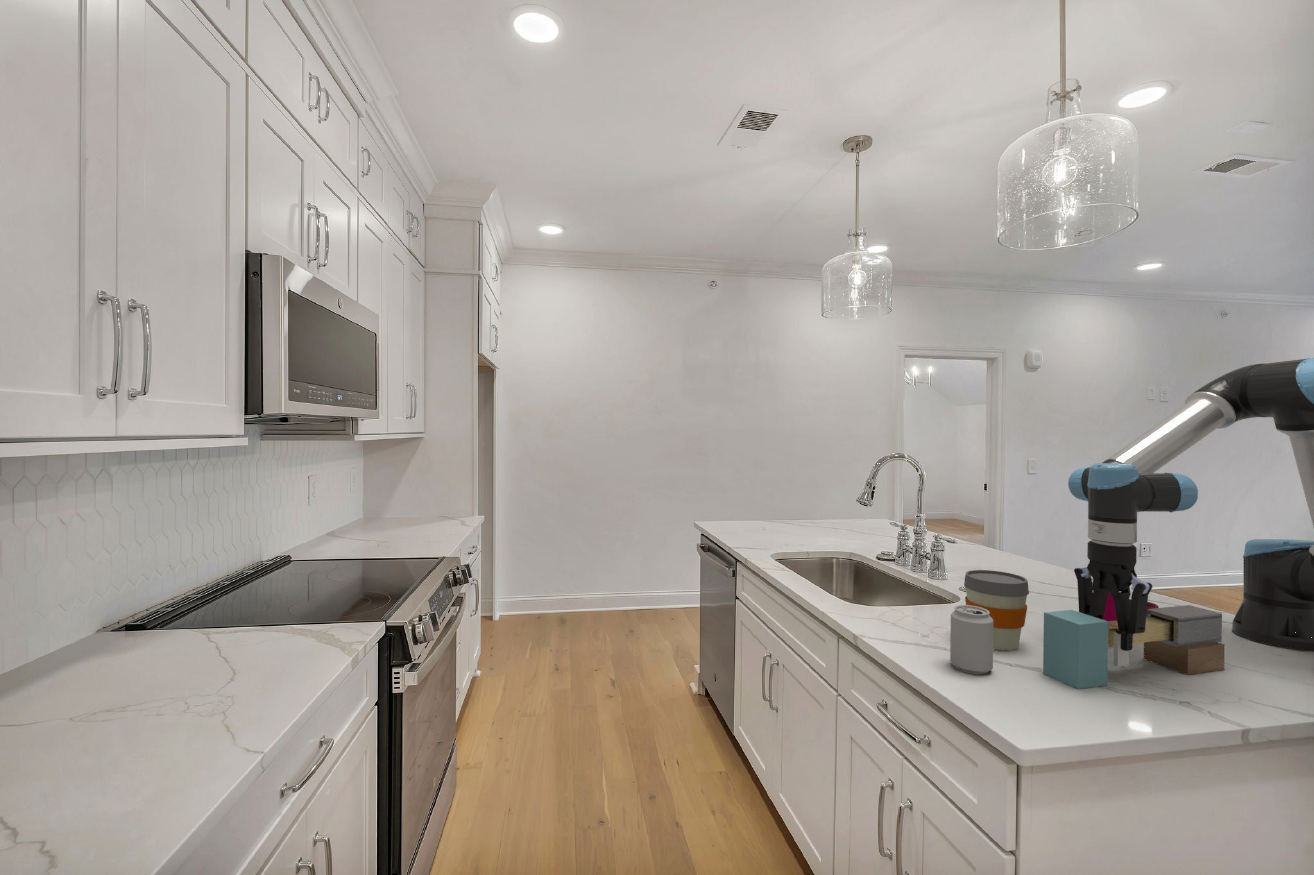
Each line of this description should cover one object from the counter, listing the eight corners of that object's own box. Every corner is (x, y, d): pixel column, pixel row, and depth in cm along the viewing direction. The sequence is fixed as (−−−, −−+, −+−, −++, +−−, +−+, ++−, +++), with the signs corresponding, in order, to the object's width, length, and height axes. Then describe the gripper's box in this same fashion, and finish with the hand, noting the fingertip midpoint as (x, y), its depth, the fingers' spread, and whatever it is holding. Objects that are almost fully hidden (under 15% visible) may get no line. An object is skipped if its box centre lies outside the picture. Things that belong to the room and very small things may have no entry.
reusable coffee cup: (1038, 656, 120) (1039, 585, 120) (973, 650, 123) (974, 581, 123) (1014, 635, 132) (1015, 571, 132) (956, 630, 135) (957, 568, 135)
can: (992, 679, 109) (992, 617, 109) (948, 670, 113) (949, 610, 113) (993, 665, 115) (993, 606, 115) (951, 657, 119) (952, 600, 119)
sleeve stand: (1182, 653, 122) (1182, 603, 122) (1227, 669, 114) (1228, 615, 114) (1140, 659, 119) (1140, 607, 119) (1183, 675, 111) (1184, 619, 111)
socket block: (1070, 669, 114) (1071, 609, 113) (1107, 685, 107) (1108, 621, 106) (1043, 672, 112) (1043, 612, 112) (1078, 689, 105) (1079, 624, 105)
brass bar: (1171, 631, 118) (1172, 614, 118) (1190, 636, 115) (1191, 620, 115) (1066, 643, 111) (1066, 625, 111) (1083, 649, 107) (1083, 631, 107)
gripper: (1057, 535, 118) (1055, 647, 118) (1142, 552, 102) (1140, 681, 103) (1085, 533, 120) (1083, 644, 120) (1173, 550, 104) (1171, 676, 104)
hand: (1110, 660), depth 111 cm, fingers closed on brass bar, 3 cm apart
